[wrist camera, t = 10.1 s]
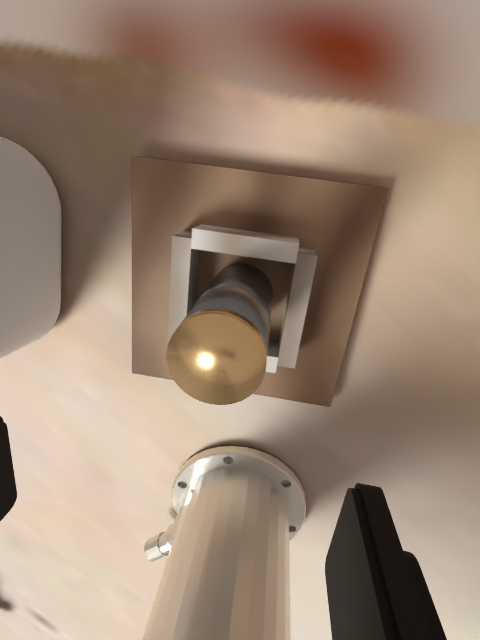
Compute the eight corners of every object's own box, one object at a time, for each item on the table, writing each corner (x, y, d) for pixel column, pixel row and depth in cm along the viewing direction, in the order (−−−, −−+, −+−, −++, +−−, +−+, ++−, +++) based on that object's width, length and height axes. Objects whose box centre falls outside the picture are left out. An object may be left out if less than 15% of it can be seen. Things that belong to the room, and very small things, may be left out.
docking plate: (382, 188, 22) (401, 188, 18) (328, 398, 28) (334, 427, 24) (139, 157, 23) (113, 152, 19) (138, 365, 29) (118, 390, 25)
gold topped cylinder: (236, 334, 25) (209, 420, 16) (198, 287, 24) (146, 350, 15) (285, 300, 24) (286, 373, 15) (247, 250, 23) (222, 294, 14)
